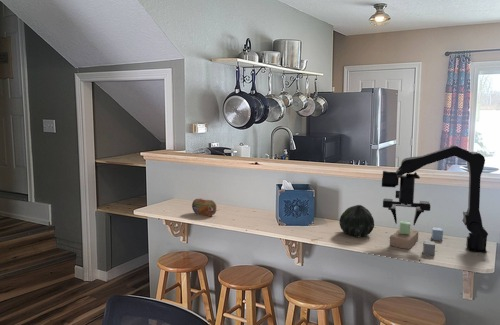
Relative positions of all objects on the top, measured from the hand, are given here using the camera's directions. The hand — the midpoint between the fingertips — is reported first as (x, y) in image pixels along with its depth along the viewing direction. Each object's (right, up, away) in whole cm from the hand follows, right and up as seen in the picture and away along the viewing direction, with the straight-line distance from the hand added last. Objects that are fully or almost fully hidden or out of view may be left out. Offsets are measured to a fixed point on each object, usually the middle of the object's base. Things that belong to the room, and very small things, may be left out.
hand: (404, 224), depth 185 cm
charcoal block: (+5, -10, -12) cm, 16 cm away
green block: (0, -4, 0) cm, 4 cm away
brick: (0, -8, +1) cm, 9 cm away
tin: (-90, -2, +44) cm, 100 cm away
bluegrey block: (+16, -7, +6) cm, 19 cm away
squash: (-18, -7, +12) cm, 22 cm away
